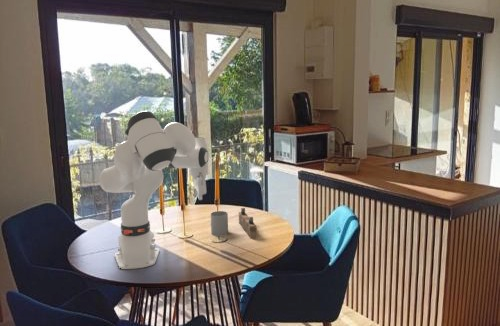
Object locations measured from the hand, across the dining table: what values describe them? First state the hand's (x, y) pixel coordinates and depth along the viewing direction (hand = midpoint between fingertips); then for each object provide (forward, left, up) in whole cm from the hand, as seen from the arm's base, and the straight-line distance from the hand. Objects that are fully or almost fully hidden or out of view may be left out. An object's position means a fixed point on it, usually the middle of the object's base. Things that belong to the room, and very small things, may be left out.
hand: (200, 199), depth 192 cm
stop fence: (0, -23, -18) cm, 29 cm away
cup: (0, -9, -18) cm, 20 cm away
